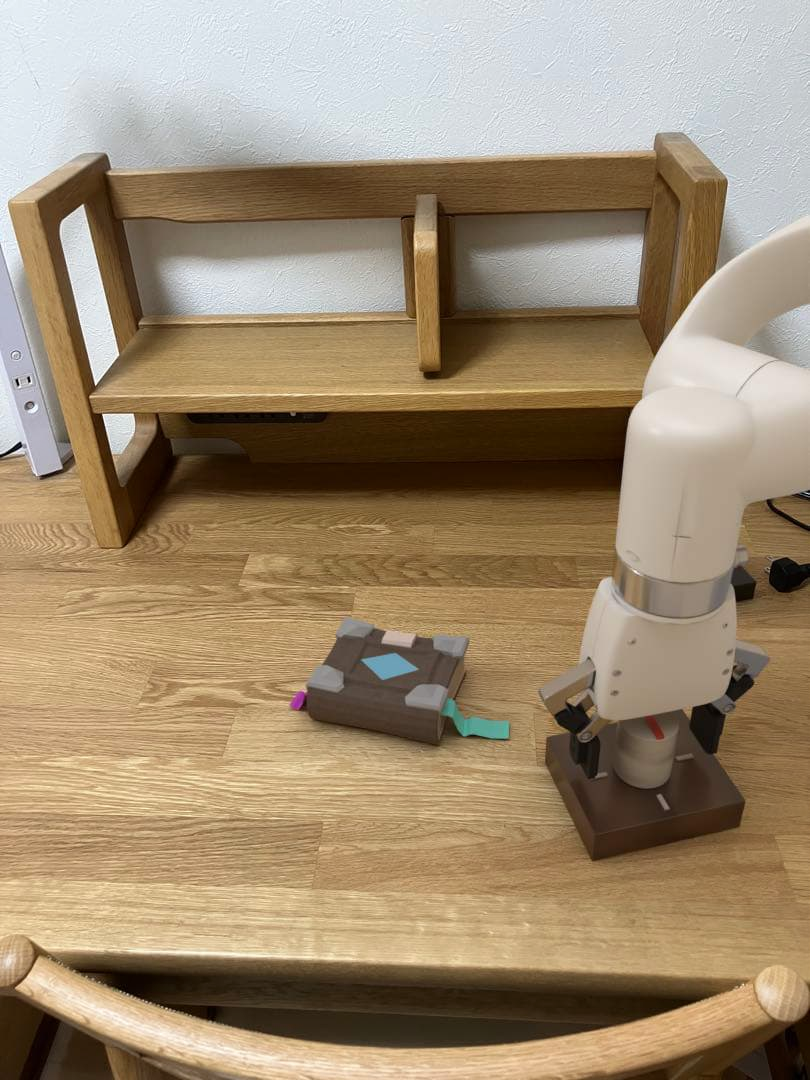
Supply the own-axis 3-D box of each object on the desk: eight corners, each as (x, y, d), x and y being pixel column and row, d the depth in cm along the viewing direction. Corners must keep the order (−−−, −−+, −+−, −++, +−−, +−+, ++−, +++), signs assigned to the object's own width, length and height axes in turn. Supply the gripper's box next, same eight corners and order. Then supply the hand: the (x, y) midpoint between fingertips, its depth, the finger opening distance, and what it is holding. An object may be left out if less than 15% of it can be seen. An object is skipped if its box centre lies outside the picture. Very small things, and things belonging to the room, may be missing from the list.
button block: (713, 556, 98) (719, 525, 96) (753, 599, 91) (760, 567, 89) (628, 571, 96) (631, 540, 94) (662, 616, 90) (667, 584, 88)
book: (529, 669, 84) (531, 627, 81) (501, 764, 75) (502, 721, 72) (332, 634, 90) (328, 594, 87) (282, 719, 80) (275, 678, 77)
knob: (604, 750, 71) (610, 700, 68) (656, 741, 72) (664, 691, 69) (625, 793, 68) (632, 742, 65) (680, 783, 68) (690, 732, 65)
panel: (677, 734, 77) (682, 707, 75) (739, 826, 68) (746, 799, 67) (544, 762, 75) (546, 735, 73) (591, 861, 66) (594, 833, 65)
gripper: (759, 523, 64) (723, 699, 73) (527, 561, 61) (521, 739, 71) (822, 584, 58) (773, 767, 67) (567, 629, 55) (554, 813, 65)
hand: (644, 752), depth 69 cm, fingers open, 9 cm apart
